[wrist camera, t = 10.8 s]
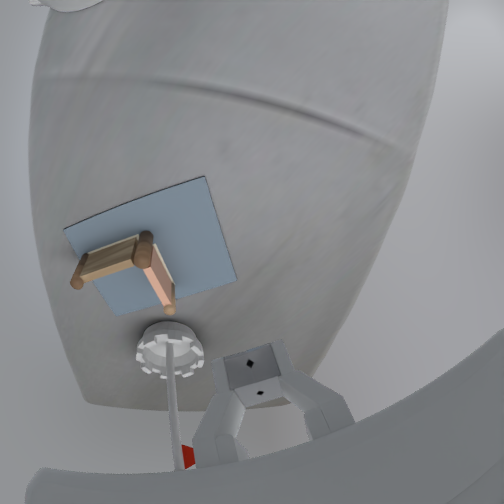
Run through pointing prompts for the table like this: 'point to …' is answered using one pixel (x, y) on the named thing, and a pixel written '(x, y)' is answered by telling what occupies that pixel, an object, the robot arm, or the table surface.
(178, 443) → the flag stand
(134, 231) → the board
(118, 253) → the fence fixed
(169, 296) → the fence section
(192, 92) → the table surface
